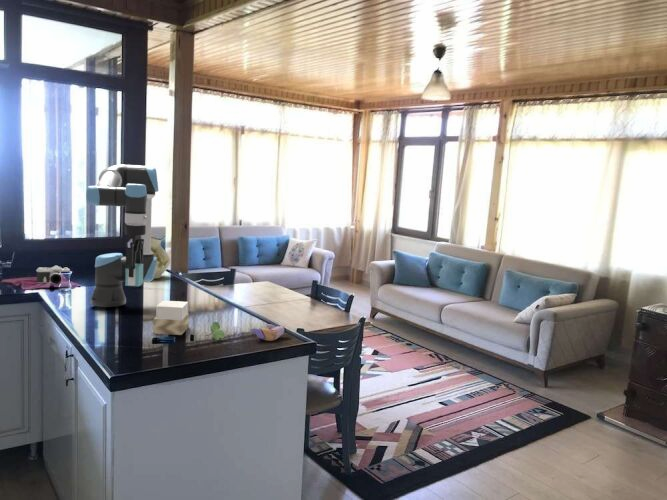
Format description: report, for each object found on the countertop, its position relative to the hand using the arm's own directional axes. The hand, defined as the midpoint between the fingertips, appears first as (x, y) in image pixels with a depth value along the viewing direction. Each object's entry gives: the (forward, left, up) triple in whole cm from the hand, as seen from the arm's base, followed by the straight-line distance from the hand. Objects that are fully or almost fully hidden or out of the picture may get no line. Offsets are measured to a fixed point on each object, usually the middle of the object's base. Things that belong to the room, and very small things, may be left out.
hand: (134, 283), depth 210 cm
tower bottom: (+14, +2, -19) cm, 23 cm away
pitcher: (-30, +108, -18) cm, 114 cm away
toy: (+48, -7, -15) cm, 50 cm away
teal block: (0, 0, 0) cm, 0 cm away
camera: (-69, +74, -19) cm, 103 cm away
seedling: (+29, -4, -19) cm, 35 cm away
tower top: (+15, +2, -13) cm, 19 cm away
